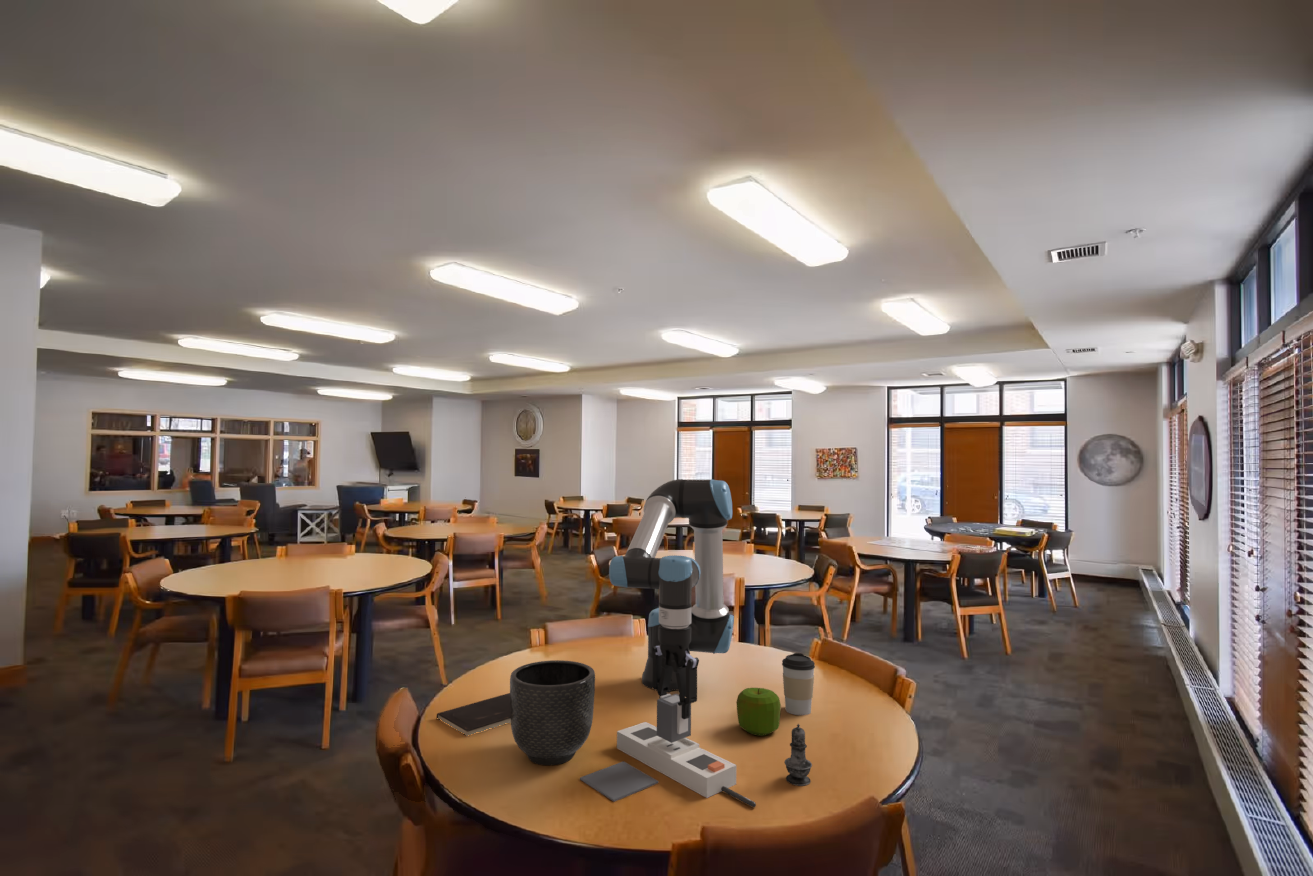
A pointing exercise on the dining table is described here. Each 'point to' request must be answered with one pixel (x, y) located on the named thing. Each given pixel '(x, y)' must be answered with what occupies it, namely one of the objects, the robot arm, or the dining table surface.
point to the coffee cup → (798, 683)
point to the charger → (670, 719)
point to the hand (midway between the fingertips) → (673, 727)
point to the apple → (758, 711)
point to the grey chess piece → (798, 760)
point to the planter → (551, 709)
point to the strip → (680, 761)
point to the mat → (618, 781)
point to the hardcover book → (479, 715)
